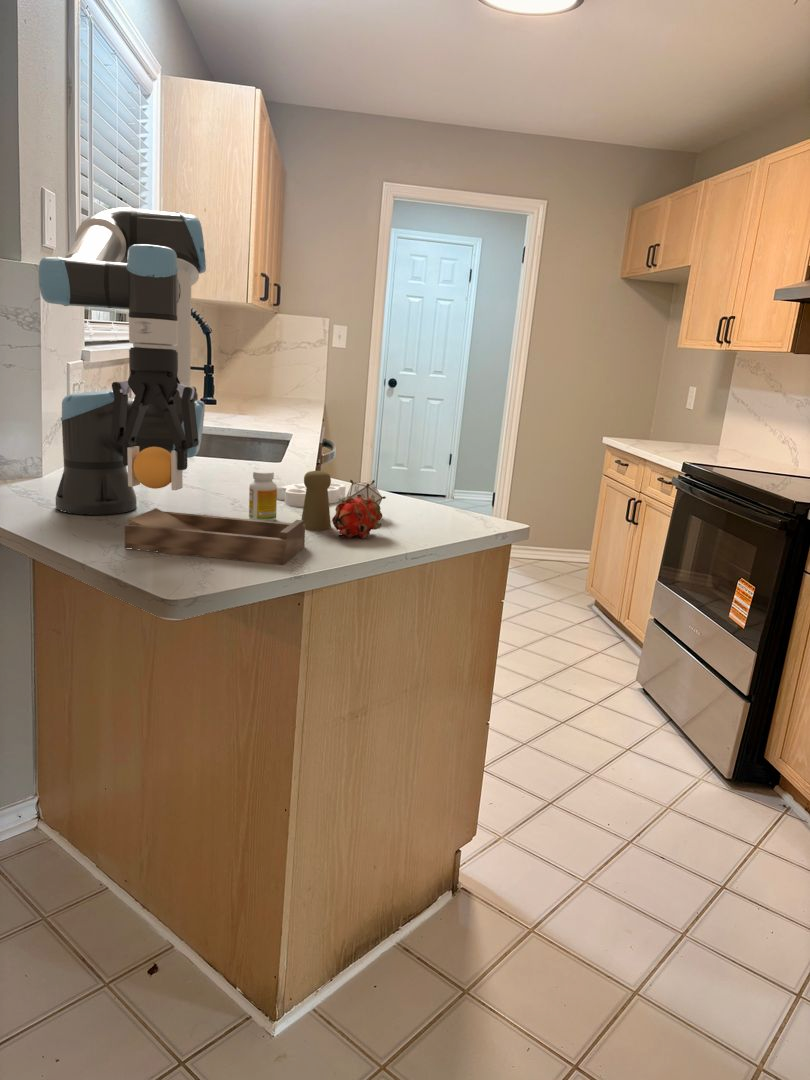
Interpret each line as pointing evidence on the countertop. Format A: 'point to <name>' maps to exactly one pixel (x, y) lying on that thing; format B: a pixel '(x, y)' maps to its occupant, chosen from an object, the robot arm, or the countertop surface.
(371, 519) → the dragon fruit
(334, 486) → the white scalloped tray
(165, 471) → the rubber ball
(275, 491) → the supplement bottle
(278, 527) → the wooden tray
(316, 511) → the cork
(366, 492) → the geometric wire polyhedron
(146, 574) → the countertop surface
